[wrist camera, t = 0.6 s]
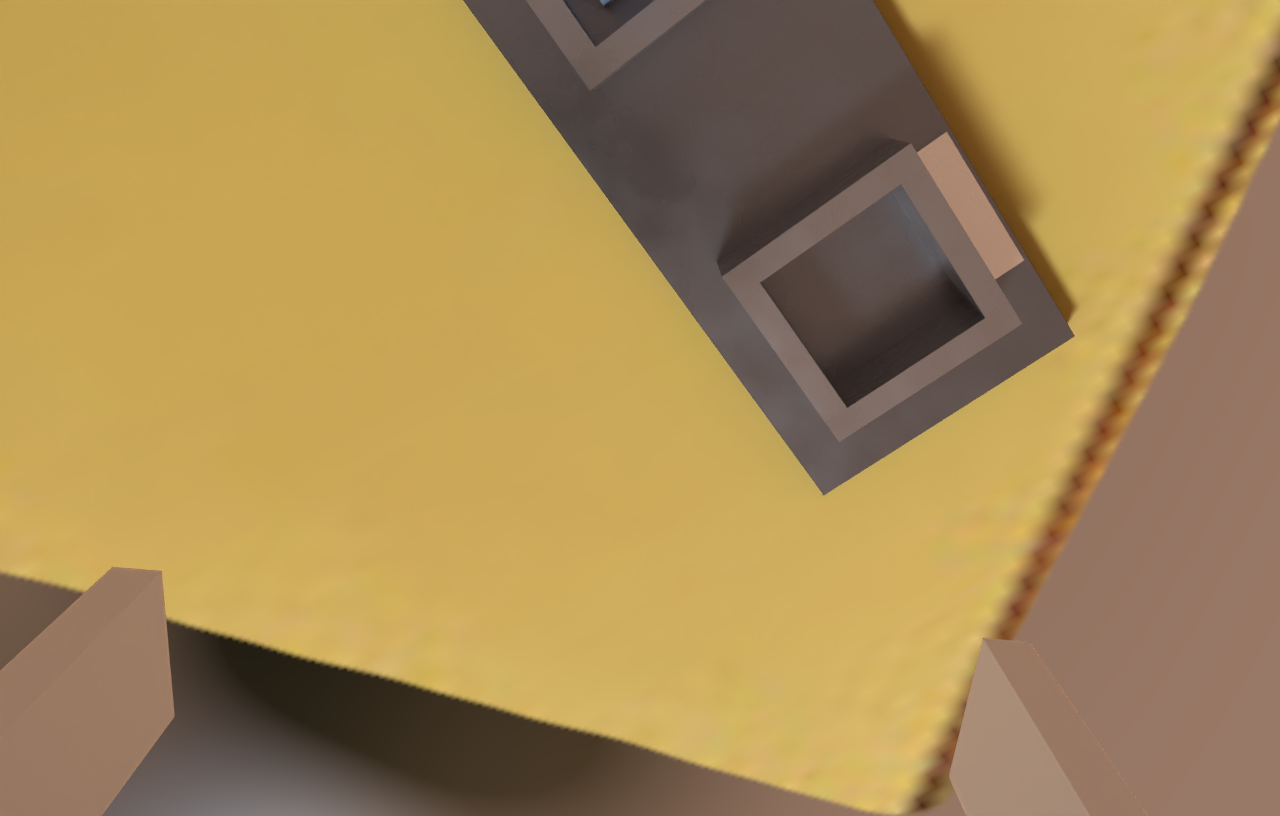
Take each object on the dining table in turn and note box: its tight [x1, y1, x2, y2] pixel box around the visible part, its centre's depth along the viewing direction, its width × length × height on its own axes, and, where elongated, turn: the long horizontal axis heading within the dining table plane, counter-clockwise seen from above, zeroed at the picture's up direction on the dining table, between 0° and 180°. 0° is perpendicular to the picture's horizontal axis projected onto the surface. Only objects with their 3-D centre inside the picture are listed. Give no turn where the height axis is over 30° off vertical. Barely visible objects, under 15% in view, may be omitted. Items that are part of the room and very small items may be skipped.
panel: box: [463, 0, 1074, 495], centre depth 35 cm, size 30×12×4 cm, turn 36°
